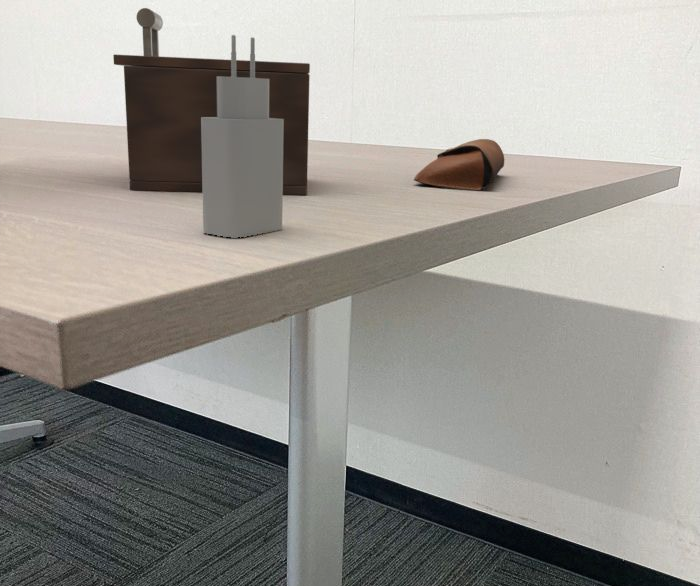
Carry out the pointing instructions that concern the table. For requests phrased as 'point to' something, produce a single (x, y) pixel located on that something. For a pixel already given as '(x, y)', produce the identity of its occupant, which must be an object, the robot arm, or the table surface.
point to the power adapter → (242, 158)
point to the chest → (185, 125)
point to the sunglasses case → (464, 166)
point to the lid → (151, 58)
